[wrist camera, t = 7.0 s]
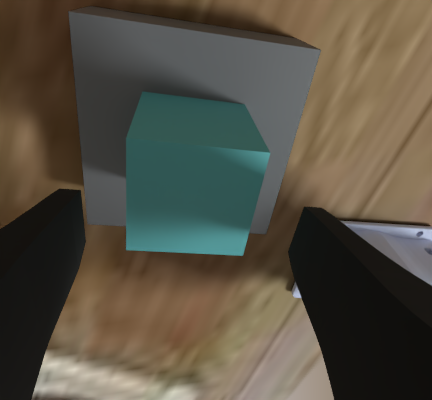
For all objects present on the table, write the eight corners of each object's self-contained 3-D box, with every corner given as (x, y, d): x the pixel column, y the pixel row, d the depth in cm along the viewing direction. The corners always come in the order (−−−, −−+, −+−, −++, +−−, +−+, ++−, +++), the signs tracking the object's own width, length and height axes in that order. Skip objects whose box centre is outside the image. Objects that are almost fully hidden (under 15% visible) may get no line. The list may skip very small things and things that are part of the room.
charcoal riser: (296, 38, 16) (320, 50, 13) (254, 200, 22) (266, 234, 19) (90, 6, 15) (68, 11, 12) (100, 189, 20) (87, 224, 17)
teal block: (244, 104, 14) (270, 152, 10) (227, 189, 17) (242, 255, 13) (142, 91, 14) (126, 138, 10) (139, 181, 16) (126, 250, 12)
